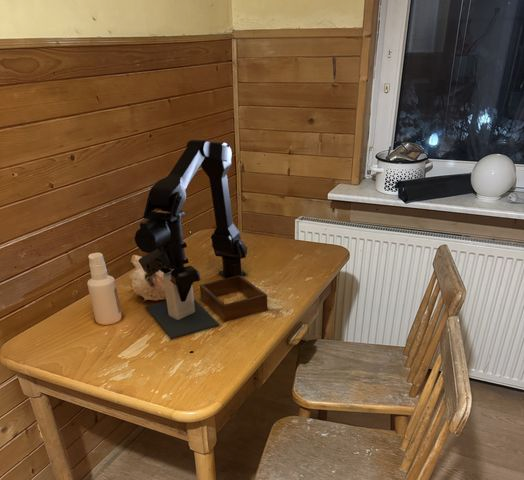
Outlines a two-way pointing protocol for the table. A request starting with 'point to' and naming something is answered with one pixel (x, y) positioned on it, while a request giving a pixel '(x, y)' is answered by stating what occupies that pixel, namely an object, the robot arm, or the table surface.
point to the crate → (235, 309)
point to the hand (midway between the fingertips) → (178, 296)
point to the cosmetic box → (177, 300)
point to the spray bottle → (103, 292)
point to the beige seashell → (147, 282)
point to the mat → (181, 320)
